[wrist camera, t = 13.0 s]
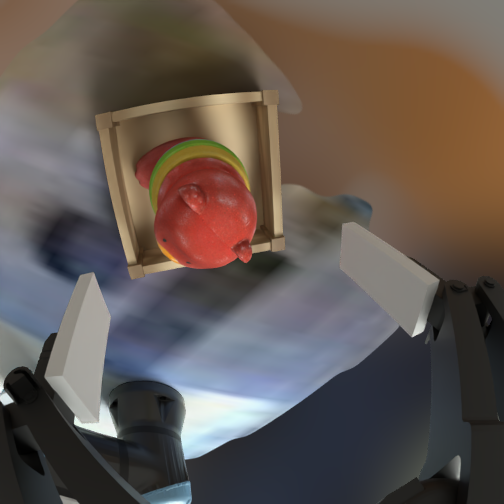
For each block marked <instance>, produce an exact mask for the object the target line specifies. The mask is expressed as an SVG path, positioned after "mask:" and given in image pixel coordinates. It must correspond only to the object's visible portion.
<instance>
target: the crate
mask: <svg viewBox="0 0 504 504" xmlns="http://www.w3.org/2000/svg"><path fill="white" fill-rule="evenodd" d="M277 105H279V97H278V90H262V91H258V92H243V93H229V94H218V95H208V96H199V97H191V98H184V99H177V100H170V101H164V102H158V103H153V104H148V105H142V106H138V107H133V108H128V109H124V110H119V111H115V112H112V111H110V112H106V113H102V114H98V115H95V119H96V126H97V131H99V134H100V141H101V147H102V153H103V159H104V164H105V170H106V175H107V180H108V185H109V190H110V195H111V199H112V204H113V208H114V212H115V216H116V220H117V224H118V228H119V232H120V236H121V240H122V244H123V247H124V251H125V254H126V258H127V261H128V270H129V274H130V277H131V279H136V278H141V277H145V274H149V273H154V272H159V271H164V270H169V269H174V268H180V267H185V266H183V265H181V264H177V263H175V262H173V261H171V260H170V259H168V258H167V257H165V256H164V254H163V253H162V251H161V250H160V248H159V246H158V244H157V241H156V237H155V233H154V221H155V213H154V211H153V208H152V206H151V202H150V196H149V190H148V189H146V188H144V187H142V186H141V185H140V184H139V180H137V179H136V177H135V172H136V170H137V168H136V164H137V162H138V161H139V159H140V158H141V157H143V156H144V155H145V154H146V153H147V152H149V151H150V150H152V149H153V148H155V147H157V146H159V145H161V144H163V143H165V142H168V141H171V140H174V139H179V138H185V137H200V138H205V139H208V140H211V141H215V142H217V143H220V144H222V145H224V146H225V147H227V148H228V149H230V150H231V151H232V152H233V153H234V154H235V155H236V156H237V157H238V158H239V160H240V161H241V162H242V164H243V166H244V168H245V170H246V172H247V175H248V179H249V184H250V193H251V194H252V196H253V198H254V201H255V204H256V211H257V224H256V229H255V232H254V235H253V238H252V240H251V242H250V245H251V247H252V253H257V252H262V251H267V250H271V251H272V252H274V251H280V250H285V237H284V236H283V228H282V198H281V177H280V176H281V175H280V153H279V136H278V135H279V134H278V118H277Z"/></svg>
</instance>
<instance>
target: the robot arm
mask: <svg viewBox="0 0 504 504" xmlns="http://www.w3.org/2000/svg"><path fill="white" fill-rule="evenodd" d="M340 269H342V270H343V271H344V272H345V273H346V274H347V275H348V276H349V277H350V278H351V279H352V280H353V281H354V282H356V283H357V284H358V285H359V286H360V287H361V288H362V289H363V290H364V291H365V292H366V293H367V294H368V295H369V296H370V297H371V298H372V299H373V300H374V301H376V302H377V303H378V304H379V305H380V306H381V307H382V308H383V309H384V310H385V311H386V312H387V313H388V314H389V315H390V316H391V317H392V318H393V319H394V320H395V321H396V322H397V323H398V324H399V325H400V326H401V327H402V328H403V329H404V330H405V331H406V332H407V333H408V334H409V335H410V336H411V337H413V336H415V335H417V334H419V333H421V332H423V331H424V328H425V325H426V322H427V321H428V322H429V323H430V324H431V328H430V330H429V333H428V336H427V338H426V341H425V344H427V343H428V340H430V345H431V371H432V372H431V374H432V378H431V380H432V386H431V419H430V433H429V444H428V453H427V459H426V463H425V464H424V466H423V468H422V470H421V473H420V475H419V479H417V477H416V478H415V479H413V480H412V481H410V482H408V483H407V484H405V485H404V486H402V487H400V488H399V489H398V490H396V491H394V492H392V493H390V494H389V495H387V496H386V497H385V498H383V499H382V500H381V501H379V502H378V503H377V504H504V290H503V289H502V287H501V286H500V284H499V283H498V282H497V281H496V280H494V279H493V278H491V277H486V276H482V277H480V278H478V281H477V284H476V286H475V287H468V286H467V285H466V284H465V283H463V282H461V281H458V280H449V281H447V282H446V281H445V280H443V279H442V278H440V277H439V276H438V275H436V274H435V273H433V272H432V271H431V270H429V269H427V268H426V267H425V266H424V265H421V263H419V262H418V261H416V260H415V259H413V258H410V257H408V256H405V255H403V254H402V253H401V252H399V251H398V250H396V249H394V248H393V247H392V246H390V245H389V244H387V243H386V242H384V241H383V240H381V239H380V238H378V237H377V236H375V235H373V234H372V233H370V232H369V231H367V230H366V229H364V228H363V227H361V226H359V225H358V224H356V223H355V222H351V223H345V224H342V240H341V255H340ZM489 315H491V317H492V321H491V323H490V325H488V324H487V320H488V318H489ZM110 319H111V316H110V314H109V311H108V309H107V306H106V304H105V301H104V299H103V296H102V294H101V291H100V288H99V286H98V283H97V280H96V278H95V275H94V272H93V273H88V274H83V275H80V277H79V279H78V282H77V284H76V286H75V289H74V291H73V294H72V296H71V299H70V301H69V304H68V306H67V309H66V312H65V314H64V317H63V320H62V322H61V325H60V328H59V331H58V333H52V334H51V335H50V336H49V337H48V339H47V340H46V341H45V343H44V346H43V349H42V353H41V355H40V358H39V359H40V360H39V361H38V364H37V367H36V370H35V373H34V375H33V373H32V372H31V371H30V370H29V369H28V368H27V367H18V368H16V369H14V370H12V371H11V372H10V373H9V374H8V375H7V377H6V378H5V381H4V385H3V386H4V391H5V392H6V393H7V394H8V395H9V397H10V398H11V399H12V400H13V401H14V402H12V403H9V404H6V405H3V403H2V402H1V401H0V504H190V503H191V498H192V497H191V489H190V482H189V479H188V474H187V469H186V464H185V459H184V454H183V449H182V443H181V431H182V427H183V423H184V418H185V413H186V410H185V403H184V399H183V397H182V396H181V395H180V394H179V393H178V392H177V391H176V390H174V389H173V388H171V387H169V386H166V385H163V384H160V383H155V382H148V381H136V382H129V383H125V384H122V385H120V386H118V387H116V388H115V389H114V390H113V391H112V392H111V394H110V396H109V412H110V415H111V418H112V421H113V423H114V426H115V429H116V432H117V438H115V437H111V436H108V435H104V434H101V433H97V432H94V431H91V430H88V429H85V428H82V427H79V426H76V425H74V417H75V416H76V417H77V418H78V420H79V421H80V422H81V423H99V411H100V397H101V386H102V376H103V367H104V359H105V351H106V344H107V338H108V331H109V325H110ZM497 413H498V416H499V419H500V421H499V420H498V416H497Z"/></svg>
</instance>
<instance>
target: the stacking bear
mask: <svg viewBox="0 0 504 504" xmlns="http://www.w3.org/2000/svg"><path fill="white" fill-rule="evenodd" d="M136 168H137V170H136V172H135V177H136V179H137V180H139V184H140V185H141V186H142V187H144V188H146V189H148V190H149V196H150V202H151V206H152V208H153V211H154V213H155V221H154V233H155V237H156V241H157V244H158V246H159V248H160V250H161V251H162V253H163V254H164V256H165V257H167V258H168V259H170V260H171V261H173V262H175V263H177V264H181V265H183V266H186V267H191V268H198V269H205V268H216V267H220V266H223V265H226V264H228V263H230V262H231V261H233V260H235V259H236V258H237V257H239V259H240V260H242V261H243V262H244V263H246V262H248V261H249V260H250V258H251V256H252V247H251V245H250V242H251V240H252V238H253V235H254V232H255V229H256V224H257V211H256V204H255V201H254V198H253V196H252V194H251V193H250V184H249V179H248V175H247V172H246V170H245V168H244V166H243V164H242V162H241V161H240V160H239V158H238V157H237V156H236V155H235V154H234V153H233V152H232V151H231V150H230V149H228V148H227V147H225V146H224V145H222V144H220V143H217V142H215V141H211V140H208V139H205V138H200V137H185V138H179V139H174V140H171V141H168V142H165V143H163V144H161V145H159V146H157V147H155V148H153V149H152V150H150V151H149V152H147V153H146V154H145V155H144V156H143V157H141V158H140V159H139V161H138V162H137V164H136Z"/></svg>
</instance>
